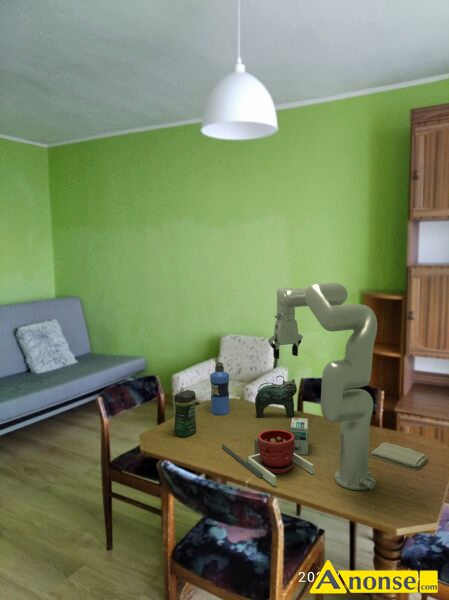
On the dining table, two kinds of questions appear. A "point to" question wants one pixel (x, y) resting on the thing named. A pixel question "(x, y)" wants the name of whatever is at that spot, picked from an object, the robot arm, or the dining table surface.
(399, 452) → the washcloth
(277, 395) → the ceramic cat
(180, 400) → the coffee jar
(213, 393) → the water bottle
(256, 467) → the white u-shaped frame
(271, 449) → the plant pot
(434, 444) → the dining table surface
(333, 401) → the robot arm
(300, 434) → the light bulb box
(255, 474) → the lane rails
